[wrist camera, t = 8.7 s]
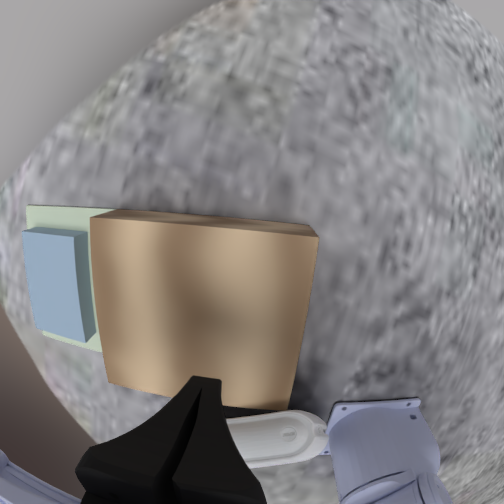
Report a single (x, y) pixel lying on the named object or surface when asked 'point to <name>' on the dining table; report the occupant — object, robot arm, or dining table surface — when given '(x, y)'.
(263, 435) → the photo printer
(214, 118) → the dining table surface
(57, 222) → the mat
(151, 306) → the light brown flat block
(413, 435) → the robot arm
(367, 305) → the dining table surface
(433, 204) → the dining table surface
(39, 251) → the blue box
